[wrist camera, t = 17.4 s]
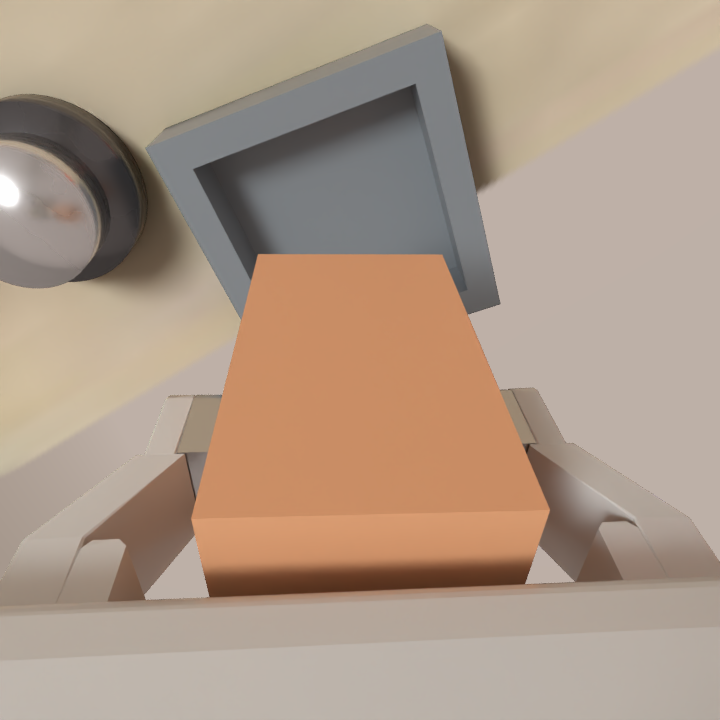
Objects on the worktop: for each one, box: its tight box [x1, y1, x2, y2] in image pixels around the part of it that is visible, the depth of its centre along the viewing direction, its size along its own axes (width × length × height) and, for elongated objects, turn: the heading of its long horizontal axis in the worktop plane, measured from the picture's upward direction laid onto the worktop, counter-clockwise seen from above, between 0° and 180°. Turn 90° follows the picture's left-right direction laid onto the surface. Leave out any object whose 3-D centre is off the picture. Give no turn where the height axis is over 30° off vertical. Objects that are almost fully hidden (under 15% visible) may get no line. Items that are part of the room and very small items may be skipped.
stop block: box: [191, 254, 550, 597], centre depth 10 cm, size 4×4×7 cm
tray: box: [145, 24, 500, 320], centre depth 19 cm, size 9×9×2 cm
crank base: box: [0, 94, 147, 282], centre depth 18 cm, size 6×6×1 cm
